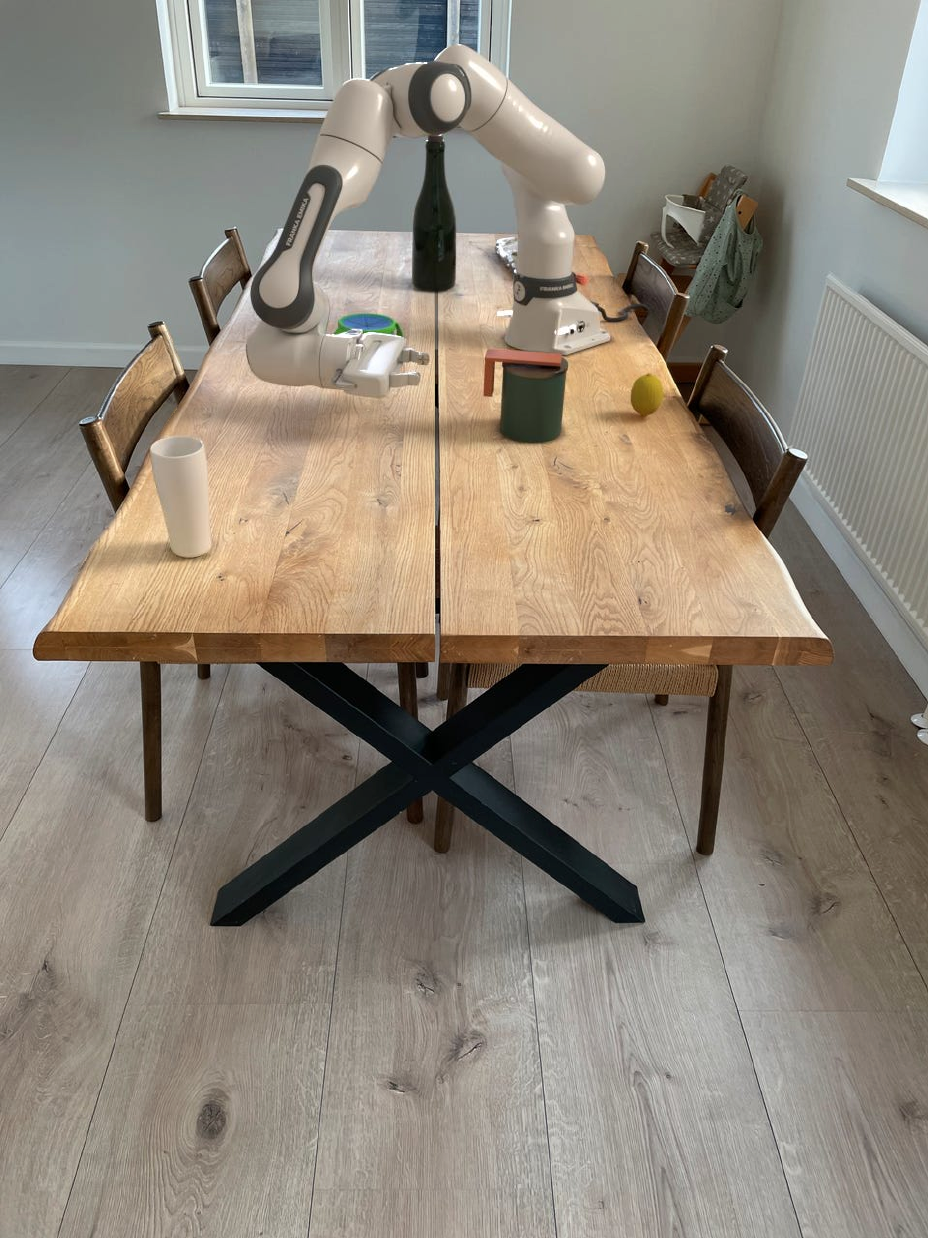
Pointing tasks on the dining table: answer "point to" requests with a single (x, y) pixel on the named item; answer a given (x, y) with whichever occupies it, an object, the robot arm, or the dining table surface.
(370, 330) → the snack cup
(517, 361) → the bracket
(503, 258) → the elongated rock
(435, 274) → the dark green wine bottle
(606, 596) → the dining table surface
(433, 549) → the dining table surface
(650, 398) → the lemon
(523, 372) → the green canister
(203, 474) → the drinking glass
